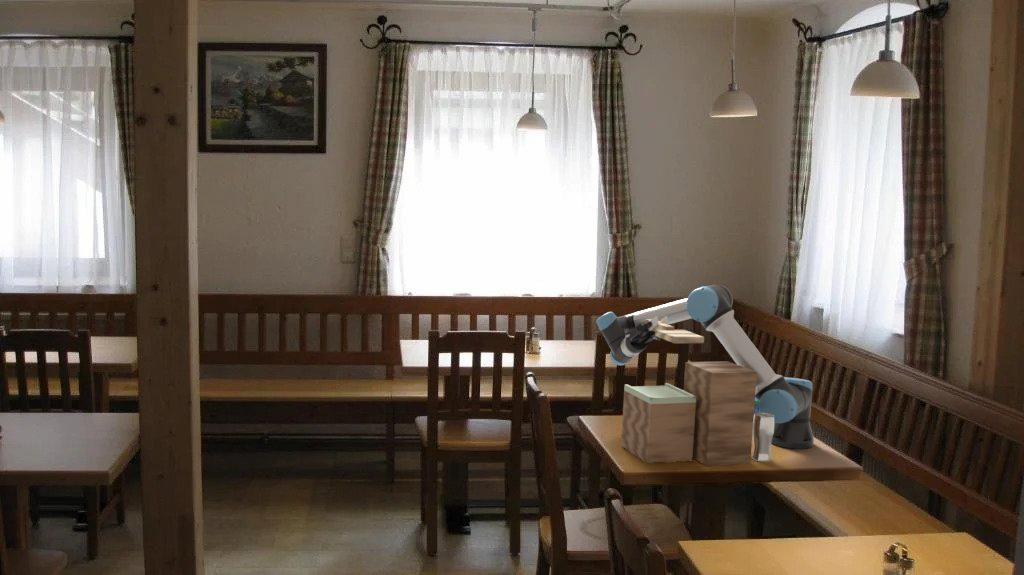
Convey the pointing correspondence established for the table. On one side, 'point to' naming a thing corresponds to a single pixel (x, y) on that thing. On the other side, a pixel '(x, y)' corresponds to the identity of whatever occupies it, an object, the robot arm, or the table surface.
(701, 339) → the cream cross-shaped block
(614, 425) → the table surface
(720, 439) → the tall crate
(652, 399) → the tray
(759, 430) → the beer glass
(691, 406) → the wooden box
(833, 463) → the table surface
